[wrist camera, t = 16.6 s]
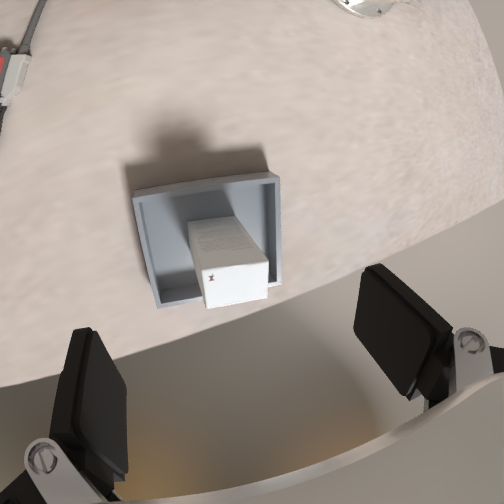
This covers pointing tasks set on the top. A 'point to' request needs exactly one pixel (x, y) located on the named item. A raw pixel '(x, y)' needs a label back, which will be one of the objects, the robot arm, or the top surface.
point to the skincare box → (227, 262)
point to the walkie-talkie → (16, 65)
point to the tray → (199, 208)
